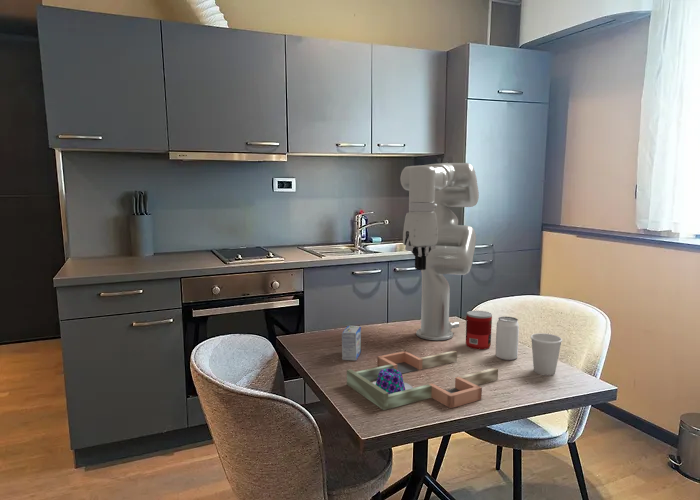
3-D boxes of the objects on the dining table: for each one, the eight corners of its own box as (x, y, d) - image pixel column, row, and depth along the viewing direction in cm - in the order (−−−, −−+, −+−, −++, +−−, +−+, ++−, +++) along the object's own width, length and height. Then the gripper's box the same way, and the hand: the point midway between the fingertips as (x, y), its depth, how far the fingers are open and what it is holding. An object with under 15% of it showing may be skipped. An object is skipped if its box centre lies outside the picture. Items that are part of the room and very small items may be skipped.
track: (454, 360, 151) (454, 347, 150) (497, 379, 136) (498, 365, 135) (346, 384, 132) (346, 370, 132) (383, 410, 117) (384, 393, 117)
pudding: (422, 396, 126) (422, 376, 125) (380, 405, 121) (380, 384, 120) (398, 379, 136) (398, 361, 136) (358, 386, 131) (358, 367, 131)
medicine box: (356, 361, 150) (356, 333, 148) (341, 360, 150) (341, 332, 149) (361, 352, 157) (361, 325, 156) (347, 351, 158) (347, 325, 157)
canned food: (494, 349, 161) (495, 316, 159) (469, 350, 160) (470, 316, 159) (486, 342, 168) (487, 310, 167) (462, 342, 168) (463, 310, 166)
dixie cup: (522, 368, 144) (524, 334, 143) (545, 364, 147) (547, 331, 146) (542, 378, 136) (544, 343, 135) (567, 375, 139) (569, 340, 138)
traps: (405, 360, 150) (405, 350, 150) (481, 399, 123) (481, 387, 123) (377, 366, 145) (377, 356, 145) (450, 408, 118) (450, 396, 118)
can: (490, 354, 156) (492, 317, 154) (507, 352, 158) (509, 315, 156) (504, 361, 150) (506, 322, 148) (521, 359, 152) (523, 320, 150)
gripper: (433, 207, 155) (431, 265, 158) (393, 208, 148) (392, 269, 150) (449, 208, 149) (447, 269, 151) (409, 209, 141) (407, 273, 144)
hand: (420, 269), depth 151 cm, fingers closed
